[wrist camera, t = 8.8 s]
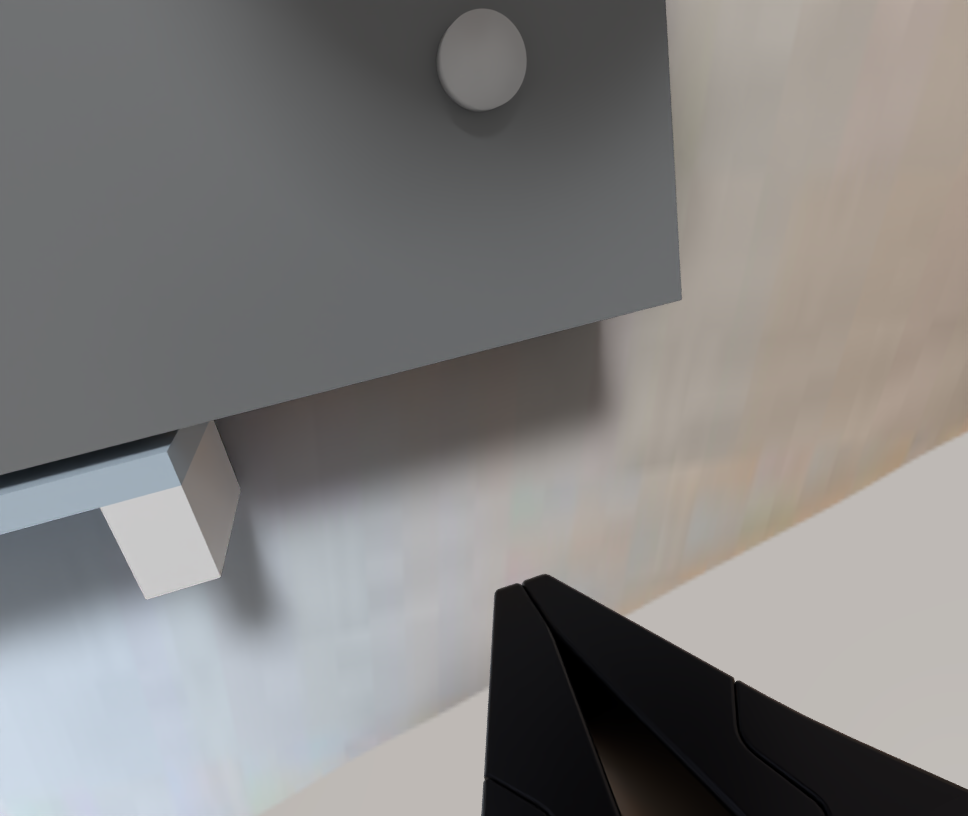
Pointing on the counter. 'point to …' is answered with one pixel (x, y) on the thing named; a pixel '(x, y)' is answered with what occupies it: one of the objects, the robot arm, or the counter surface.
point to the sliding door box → (311, 197)
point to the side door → (141, 502)
